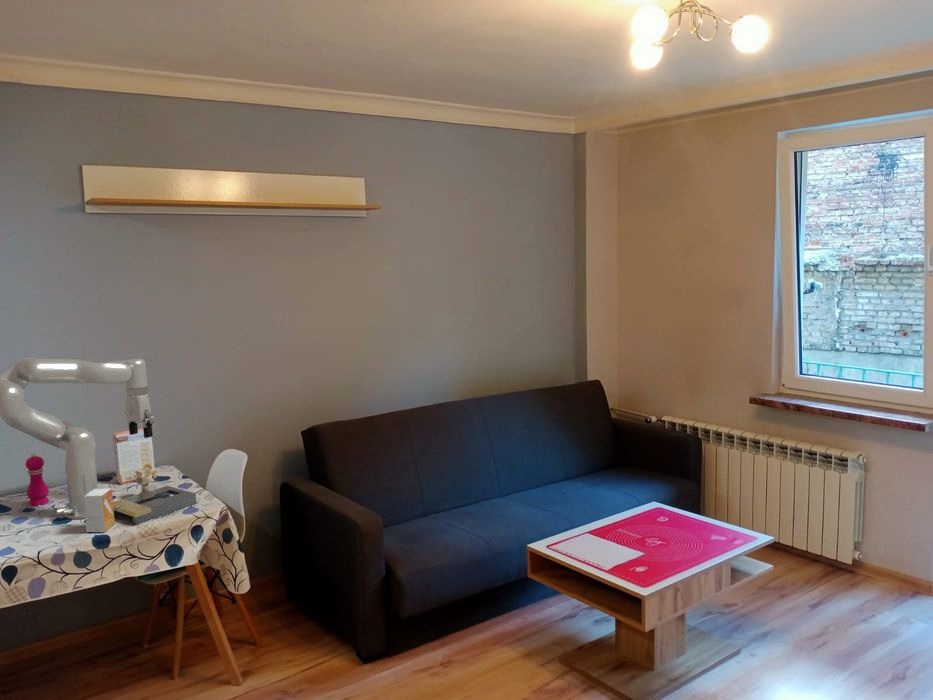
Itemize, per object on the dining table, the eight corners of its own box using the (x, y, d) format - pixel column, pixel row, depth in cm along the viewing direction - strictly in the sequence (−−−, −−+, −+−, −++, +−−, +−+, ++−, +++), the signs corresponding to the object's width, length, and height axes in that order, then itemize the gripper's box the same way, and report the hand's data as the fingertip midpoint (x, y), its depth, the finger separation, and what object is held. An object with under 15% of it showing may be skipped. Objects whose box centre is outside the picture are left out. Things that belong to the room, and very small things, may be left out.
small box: (105, 532, 249) (102, 495, 247) (86, 533, 248) (82, 496, 246) (115, 523, 257) (112, 487, 255) (96, 524, 256) (93, 488, 254)
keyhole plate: (136, 525, 254) (135, 513, 254) (108, 515, 265) (106, 503, 264) (196, 505, 274) (195, 493, 273) (168, 496, 284) (167, 485, 283)
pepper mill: (29, 508, 274) (24, 456, 272) (26, 503, 280) (20, 452, 277) (51, 504, 279) (46, 452, 276) (47, 499, 284) (42, 449, 282)
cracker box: (151, 474, 314) (147, 426, 311) (155, 477, 309) (151, 429, 306) (116, 481, 305) (111, 432, 302) (120, 485, 300) (116, 435, 298)
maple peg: (143, 500, 280) (141, 472, 279) (136, 498, 283) (133, 470, 282) (155, 496, 285) (153, 469, 283) (148, 494, 287) (145, 467, 286)
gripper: (115, 391, 280) (119, 435, 283) (140, 395, 270) (144, 440, 273) (133, 387, 286) (137, 430, 289) (159, 391, 277) (163, 436, 279)
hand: (141, 435), depth 281 cm, fingers open, 9 cm apart
